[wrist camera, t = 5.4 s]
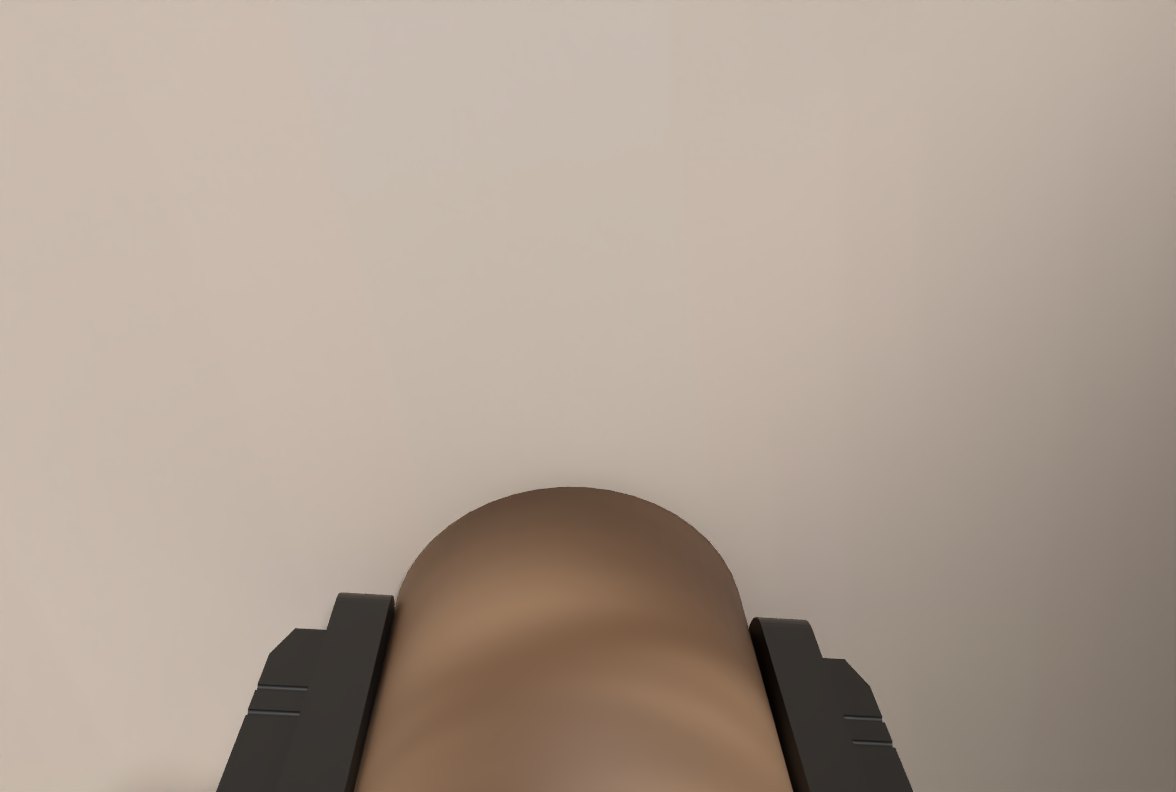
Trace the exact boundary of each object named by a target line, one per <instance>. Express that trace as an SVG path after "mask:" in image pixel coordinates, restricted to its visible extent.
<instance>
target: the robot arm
mask: <svg viewBox="0 0 1176 792" xmlns="http://www.w3.org/2000/svg"><path fill="white" fill-rule="evenodd" d="M394 613H395V605H394V596H392V595H375V594H357V593H339V594H338V596H337V599H336V602H335V605H334V608H333V611H332V614H331V617H330V620H329V623H328V627H327V630H316V629H298V628H295V629H294V630H293V631H292V632H291V633H290V634H289V635H288V636H287V637H286V638H285V639H284V640H283V641H282V642H281V643H280V644H279V645H278V646H277V647H276V648H275V649H274V650H273V651H272V652H271V653H270V654H269V656H268V659H267V661H266V664H265V667H264V669H263V672H262V674H261V677H260V680H259V682H258V688H257V690H255V692H254V695H253V698H252V700H251V703H250V705H249V708H248V714H247V715H246V716H245V718H244V721H243V724H242V726H241V729H240V731H239V734H238V736H237V739H236V742H235V744H234V747H233V749H232V752H231V755H230V757H229V760H228V762H227V765H226V767H225V770H224V773H223V775H222V778H221V780H220V783H219V786H218V788H217V791H216V792H354V788H355V783H356V779H357V775H358V770H359V766H360V762H361V757H362V753H363V748H364V744H365V740H366V735H367V731H368V727H369V722H370V718H371V713H372V709H373V705H374V700H375V696H376V692H377V687H378V683H379V679H380V674H381V670H382V665H383V661H384V657H385V652H386V648H387V644H388V639H389V635H390V630H391V626H392V622H393V617H394ZM749 632H750V636H751V639H752V643H753V647H754V650H755V654H756V658H757V661H758V665H759V669H760V672H761V676H762V680H763V683H764V687H765V690H766V694H767V698H768V701H769V705H770V709H771V712H772V716H773V720H774V723H775V727H776V731H777V734H778V738H779V742H780V745H781V749H782V753H783V756H784V760H785V764H786V767H787V771H788V775H789V778H790V782H791V786H792V789H793V792H913V790H912V788H911V785H910V783H909V780H908V778H907V775H906V773H905V771H904V768H903V766H902V763H901V761H900V758H899V756H898V754H897V751H896V749H895V748H893V747H892V739H891V737H890V734H889V732H888V729H887V727H886V725H885V723H883V722H882V715H881V712H880V710H879V708H878V705H877V703H876V700H875V698H874V695H873V693H872V691H871V688H870V686H869V685H868V684H867V683H866V682H865V681H864V680H863V679H862V678H861V677H860V675H859V674H858V673H857V672H856V671H855V670H854V669H853V668H852V667H851V666H850V665H849V664H848V663H847V662H846V660H845V659H830V658H822V655H821V652H820V650H819V647H818V644H817V641H816V639H815V636H814V633H813V630H812V628H811V625H810V624H809V622H808V621H806V620H795V619H777V618H760V617H755V618H753V620H752V621H751V624H750V627H749Z"/></svg>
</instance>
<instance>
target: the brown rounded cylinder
mask: <svg viewBox="0 0 1176 792" xmlns="http://www.w3.org/2000/svg"><path fill="white" fill-rule="evenodd" d="M354 792H793V789H792V786H791V782H790V778H789V775H788V771H787V767H786V764H785V760H784V756H783V753H782V749H781V745H780V742H779V738H778V734H777V731H776V727H775V723H774V720H773V716H772V712H771V709H770V705H769V701H768V698H767V694H766V690H765V687H764V683H763V680H762V676H761V672H760V669H759V665H758V661H757V658H756V654H755V650H754V647H753V643H752V639H751V636H750V632H749V628H748V625H747V621H746V617H745V614H744V610H743V606H742V603H741V599H740V595H739V592H738V589H737V587H736V584H735V581H734V579H733V576H732V574H731V572H730V570H729V569H728V567H727V565H726V563H725V562H724V560H723V558H722V557H721V555H720V554H719V553H718V552H717V551H716V549H715V548H714V547H713V546H712V544H711V543H710V542H709V541H708V540H707V539H706V538H705V537H704V536H703V535H702V534H701V533H699V532H698V531H697V530H696V529H695V528H694V527H693V526H691V525H690V524H688V523H687V522H686V521H684V520H683V519H681V518H680V517H678V516H677V515H675V514H673V513H672V512H670V511H668V510H666V509H664V508H662V507H660V506H658V505H656V504H654V503H651V502H648V501H646V500H643V499H640V498H637V497H635V496H631V495H627V494H623V493H619V492H615V491H611V490H603V489H595V488H587V487H557V488H547V489H538V490H532V491H528V492H523V493H519V494H514V495H511V496H508V497H505V498H502V499H499V500H496V501H493V502H490V503H488V504H486V505H484V506H482V507H480V508H478V509H476V510H474V511H472V512H469V513H468V514H466V515H465V516H463V517H462V518H460V519H458V520H457V521H455V522H454V523H452V524H451V525H449V526H448V527H447V528H446V529H445V530H443V531H442V532H441V533H440V534H439V535H438V536H436V537H435V538H434V539H433V540H432V541H431V542H430V543H429V544H428V546H427V547H426V548H425V549H424V550H423V551H422V552H421V554H420V555H419V556H418V557H417V559H416V561H415V562H414V564H413V565H412V567H411V568H410V570H409V571H408V573H407V575H406V578H405V580H404V582H403V584H402V587H401V589H400V592H399V596H398V599H397V603H396V607H395V613H394V617H393V622H392V626H391V630H390V635H389V639H388V644H387V648H386V652H385V657H384V661H383V665H382V670H381V674H380V679H379V683H378V687H377V692H376V696H375V700H374V705H373V709H372V713H371V718H370V722H369V727H368V731H367V735H366V740H365V744H364V748H363V753H362V757H361V762H360V766H359V770H358V775H357V779H356V783H355V788H354Z"/></svg>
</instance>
